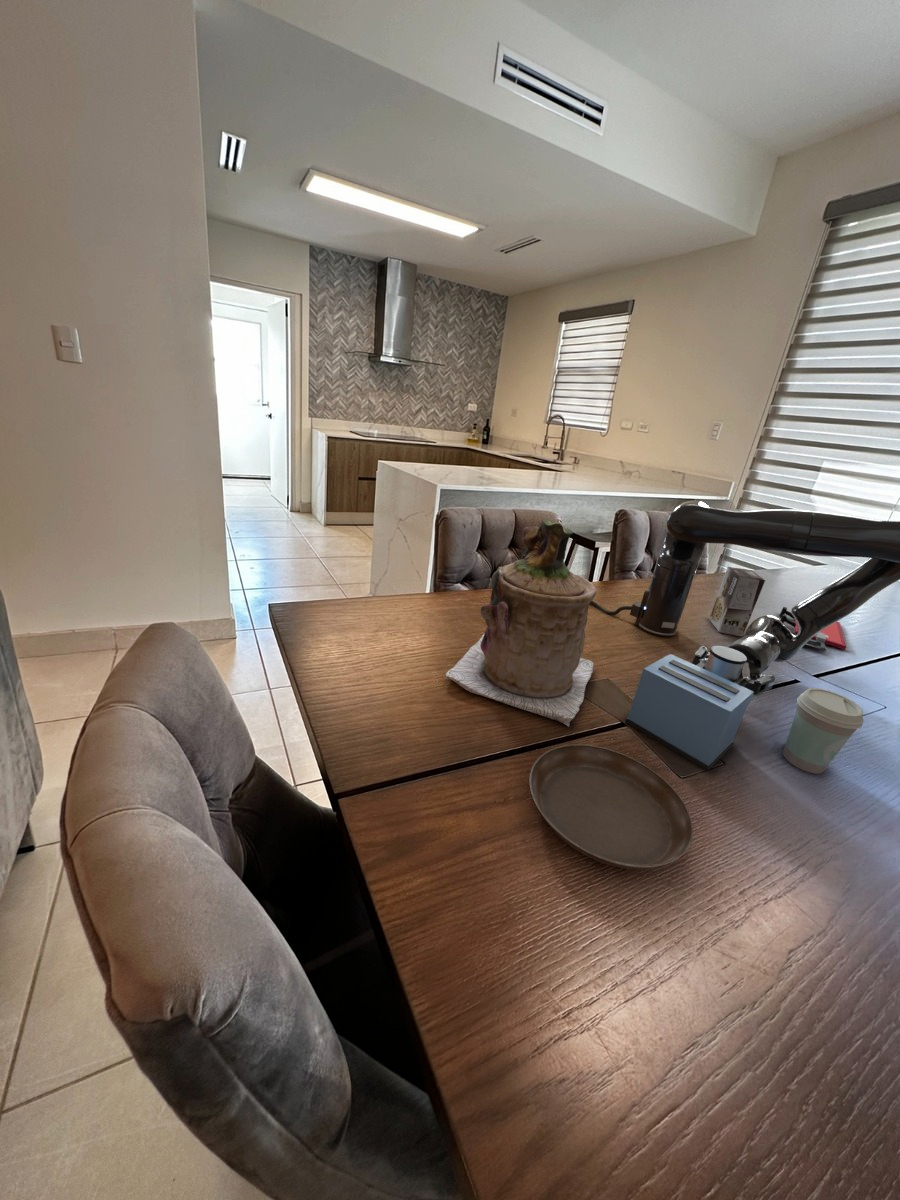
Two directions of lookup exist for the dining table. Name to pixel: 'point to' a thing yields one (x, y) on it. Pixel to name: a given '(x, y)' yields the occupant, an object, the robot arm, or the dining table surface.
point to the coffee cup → (820, 729)
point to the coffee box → (736, 600)
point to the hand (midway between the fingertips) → (714, 681)
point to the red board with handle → (826, 636)
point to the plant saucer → (610, 807)
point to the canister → (725, 662)
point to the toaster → (688, 709)
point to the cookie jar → (533, 632)
